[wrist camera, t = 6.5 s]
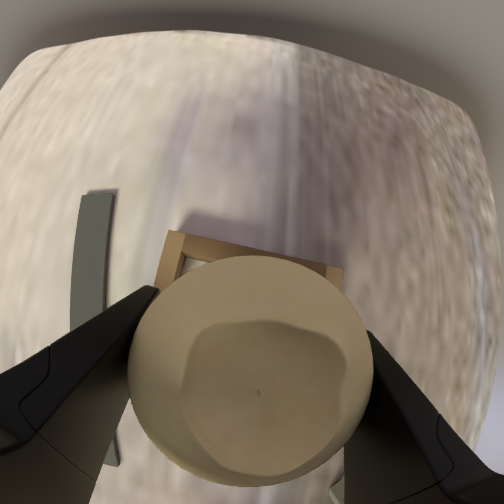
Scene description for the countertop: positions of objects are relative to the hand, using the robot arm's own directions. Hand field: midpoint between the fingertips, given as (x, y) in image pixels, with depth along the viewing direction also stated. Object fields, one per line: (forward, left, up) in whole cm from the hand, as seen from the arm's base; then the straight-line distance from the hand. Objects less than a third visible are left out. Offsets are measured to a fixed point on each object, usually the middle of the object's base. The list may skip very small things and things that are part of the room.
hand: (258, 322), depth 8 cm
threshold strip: (+6, +7, -9) cm, 13 cm away
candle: (-1, +1, -7) cm, 7 cm away
